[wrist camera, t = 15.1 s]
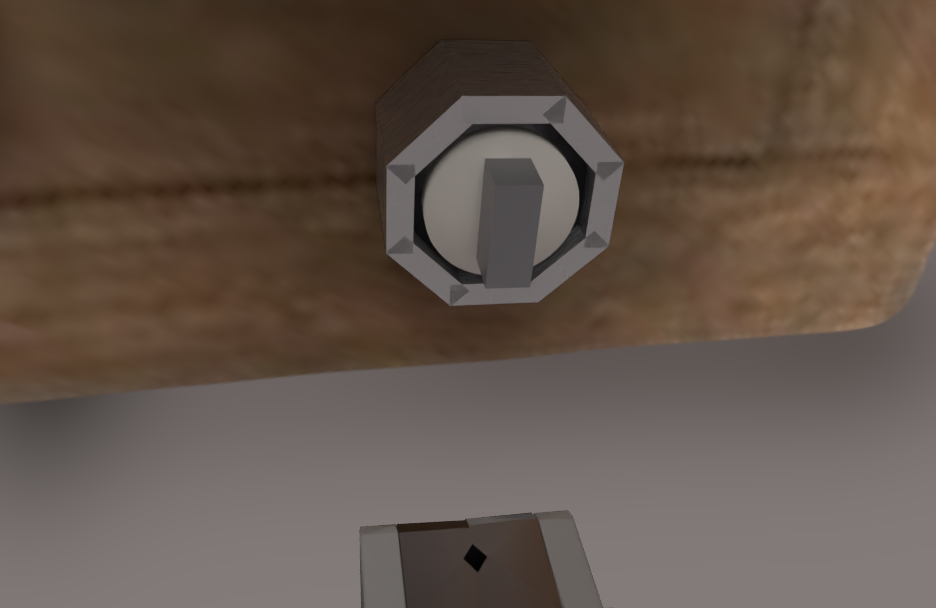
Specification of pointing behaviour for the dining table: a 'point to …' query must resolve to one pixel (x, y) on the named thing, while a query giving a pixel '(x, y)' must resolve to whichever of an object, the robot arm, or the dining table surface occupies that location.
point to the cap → (500, 203)
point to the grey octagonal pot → (475, 107)
